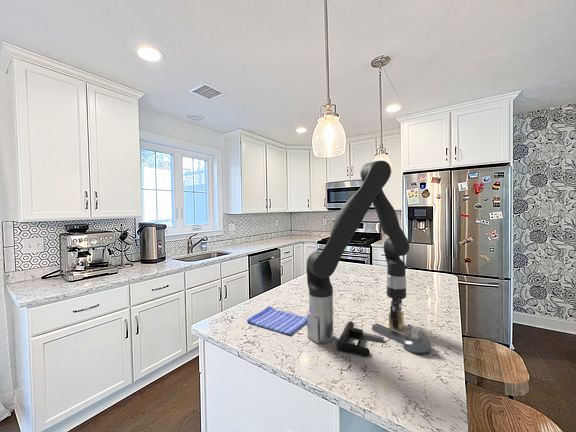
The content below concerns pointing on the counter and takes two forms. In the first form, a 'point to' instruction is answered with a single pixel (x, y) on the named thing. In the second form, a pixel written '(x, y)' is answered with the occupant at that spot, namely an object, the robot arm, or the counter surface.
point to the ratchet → (407, 339)
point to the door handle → (355, 333)
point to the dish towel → (278, 321)
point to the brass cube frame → (400, 320)
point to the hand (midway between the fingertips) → (396, 325)
